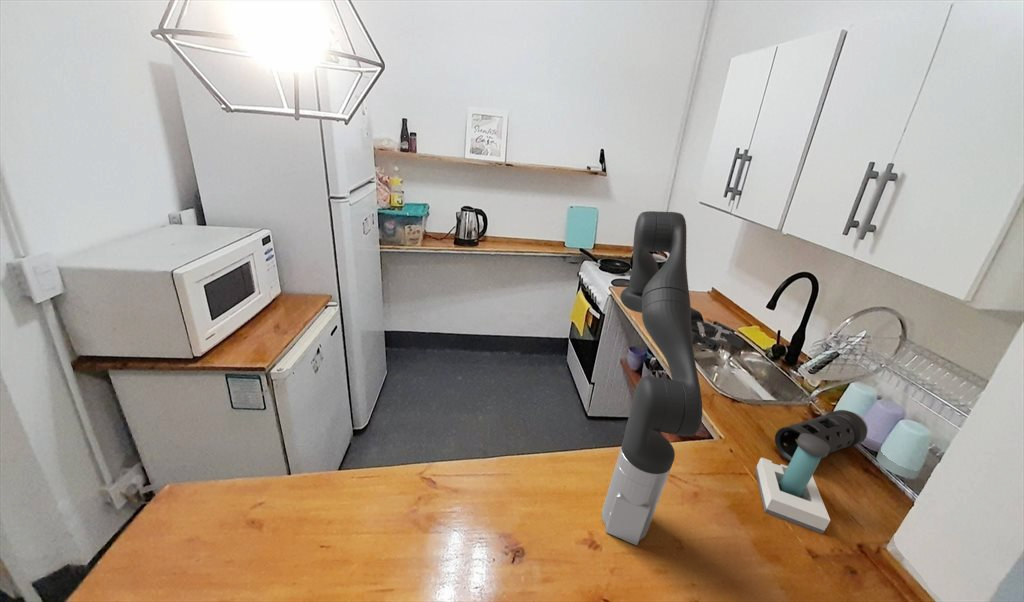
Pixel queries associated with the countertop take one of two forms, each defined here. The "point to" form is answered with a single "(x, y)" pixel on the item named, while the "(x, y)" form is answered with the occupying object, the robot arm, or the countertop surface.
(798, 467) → the peg
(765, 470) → the keyhole plate
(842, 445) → the muzzle brake
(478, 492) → the countertop surface
